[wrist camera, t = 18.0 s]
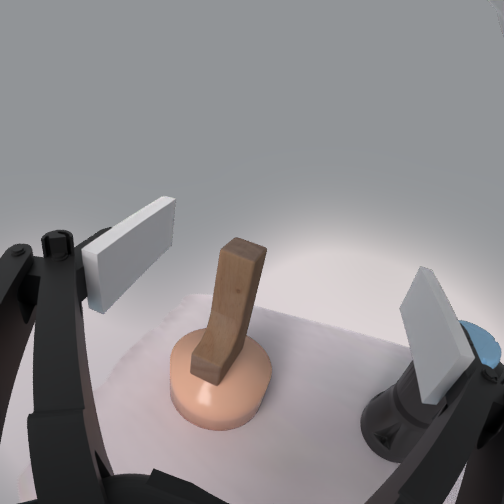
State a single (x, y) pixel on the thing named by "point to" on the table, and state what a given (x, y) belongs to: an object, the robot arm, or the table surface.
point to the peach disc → (219, 386)
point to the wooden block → (229, 310)
